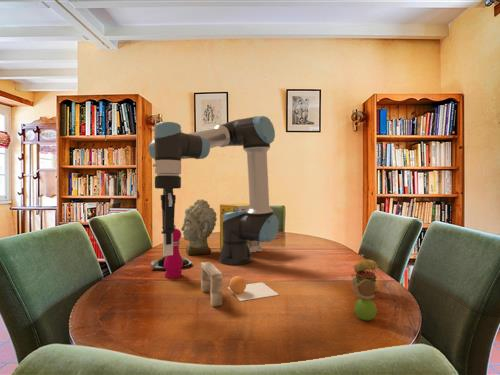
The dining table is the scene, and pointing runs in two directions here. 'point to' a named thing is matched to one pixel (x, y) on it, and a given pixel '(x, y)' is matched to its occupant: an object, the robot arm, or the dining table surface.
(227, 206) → the packaging box
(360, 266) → the hamburger
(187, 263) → the salad plate
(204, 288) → the bridge
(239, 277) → the ball
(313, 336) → the dining table surface
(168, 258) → the pepper mill
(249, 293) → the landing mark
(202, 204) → the buddha head
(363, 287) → the snail figurine
